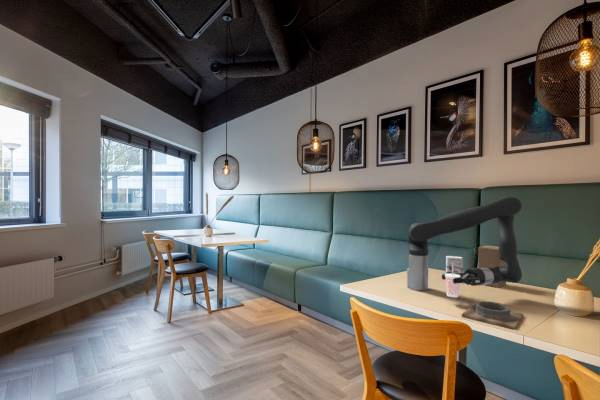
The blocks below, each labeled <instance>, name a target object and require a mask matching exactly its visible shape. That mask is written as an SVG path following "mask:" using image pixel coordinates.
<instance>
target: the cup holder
mask: <svg viewBox="0 0 600 400" xmlns="http://www.w3.org/2000/svg"><path fill="white" fill-rule="evenodd" d="M461 318H466V319H469V320H473V321H478V322H482V323H485V324H491V325H493V326H494V325H495V326H499V327H503V328H507V329H511V330H516V328H517V327H518V325H519V324H520V322H522V319H523V318H524V313H520V312H516V311H512V310H511V308H510V307H509V306H507V305H506V304H505V305H504V304H503V303H499V302H492V301H477V302H476V303H474V304H472V305H471V306H470V307H469V308H467V310H465V311H463V313H461Z"/></svg>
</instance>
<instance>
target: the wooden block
mask: <svg viewBox="0 0 600 400" xmlns="http://www.w3.org/2000/svg"><path fill="white" fill-rule="evenodd" d="M477 251H478V252H477V253H478V257H477V259H478V263H477V264H478V266H477V268H493V267H497V266H507V263H506V262H505V261H502V260H500V258H499V246H496V245H482V246H479V247H478V249H477ZM506 285H507V282H503V281H500V282H499V283H493V284H487V285H486V286H487V287H493V288H497V289H498V288H502V287H504V286H506Z"/></svg>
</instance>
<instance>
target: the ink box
mask: <svg viewBox="0 0 600 400" xmlns="http://www.w3.org/2000/svg"><path fill="white" fill-rule="evenodd" d="M445 260H446V261H445V274H447V272H452V264H453V271H457V272H464V259H463V257H462V256H455V255H446V256H445Z"/></svg>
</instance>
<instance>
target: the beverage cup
mask: <svg viewBox="0 0 600 400" xmlns="http://www.w3.org/2000/svg"><path fill="white" fill-rule="evenodd" d="M444 274H445V277H446V279H445V292H446V297H450V298H458V297H459V293H460V283H456V284H455V283H453V278H460V275H457V274H453V264H452V274H446V273H444Z"/></svg>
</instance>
